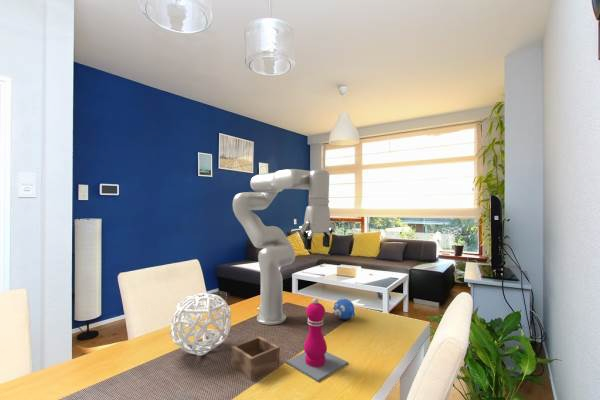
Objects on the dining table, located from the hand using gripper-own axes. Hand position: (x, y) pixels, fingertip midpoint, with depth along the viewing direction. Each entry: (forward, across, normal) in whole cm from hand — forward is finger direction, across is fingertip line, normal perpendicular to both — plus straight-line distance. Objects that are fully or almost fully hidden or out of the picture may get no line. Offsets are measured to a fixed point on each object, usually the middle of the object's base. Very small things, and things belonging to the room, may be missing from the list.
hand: (317, 247), depth 116 cm
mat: (+33, +13, +15) cm, 39 cm away
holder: (+34, +29, +4) cm, 44 cm away
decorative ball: (+34, +38, -16) cm, 54 cm away
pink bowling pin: (+33, +14, +15) cm, 38 cm away
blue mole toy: (+34, -20, -4) cm, 39 cm away
